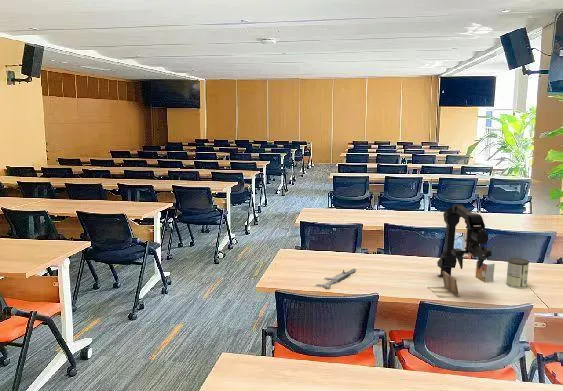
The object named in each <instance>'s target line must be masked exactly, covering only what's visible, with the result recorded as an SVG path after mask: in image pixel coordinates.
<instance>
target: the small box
mask: <svg viewBox="0 0 563 391" xmlns="http://www.w3.org/2000/svg"><path fill="white" fill-rule="evenodd" d="M495 265H496V263H495V262H491V261H489V260H487V259H485V260H484V262H483V263H482V265H481V267H480V269H479V268H478V260H476V266H475V267H476V268H475V269H476V270H475V275H474V276H475V278H476V279H477V280H479V281H481V282H483V283H492V282H494V275H495Z"/></svg>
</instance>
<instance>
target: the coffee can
mask: <svg viewBox="0 0 563 391" xmlns="http://www.w3.org/2000/svg"><path fill="white" fill-rule="evenodd" d="M529 263H530V261H529V260H528V259H526V258H521V257H520V258H519V257H509V258H508V259H507V269H506V270H507V271H506V272H507V273H506V285H507V286H508V287H509V288H513V289H526V288H527V287H528V276H529V275H528V274H529Z"/></svg>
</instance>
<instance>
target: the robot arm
mask: <svg viewBox="0 0 563 391" xmlns="http://www.w3.org/2000/svg"><path fill="white" fill-rule="evenodd" d="M442 217H443V221H444V222H445V224H446V227H445V240H444V250H443V251H442V252H441V254H440V258H439V259H438V260H437V261H436V263H437V264H436V265H437V267H438V268H440V272H439V273H440V274H437V276H438V277H439V278H443V274H442V271H445V272H446V273H448V274H449V275H450V276H452V269H455V268H456V266H457V263H458V265H459V268H460V269H461V270H463V266H464V265H463V264H464V262H463V260H464V255H471V256H472V257H473V258H477V261H478V268H479V269H480V267H481V265H482V263H483V262H484V260H487V259H489V257H492V256H493V254H492V253H493V252H492V250H491V249H489V248H487V246H481V245H485V244H486V243H488V242H489V235H488V233H486V225H485V222H484V219H483V217H482V215H481V214H479V213H475V212H472V211H471V210H468V209H467V208H466V207H465V206H464V205H463V204H454V205H452V206H451V207H448V208H447V209H445V211H443V216H442ZM461 218H462V219H464V223H465V225H466V226H465V228H466V237H465V238H466V239H465V240H464V242H465V246H464V250H462V249H461V248H455V238H456V230H457V229H456V227H457V226H458V224H460V219H461Z"/></svg>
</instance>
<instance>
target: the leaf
mask: <svg viewBox="0 0 563 391" xmlns="http://www.w3.org/2000/svg"><path fill="white" fill-rule="evenodd" d="M442 274H443V277H442V278H443V285H444V286H446V287H447V288H448V289H447V290H448V291H450V292H451V293H452V294H453V293H455V294H456V295H459V290H458V283H457V279H456V278H454V277H453V276H452V275H451V276H450V275H449V274H448V273H446V272H445V271H442Z"/></svg>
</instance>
